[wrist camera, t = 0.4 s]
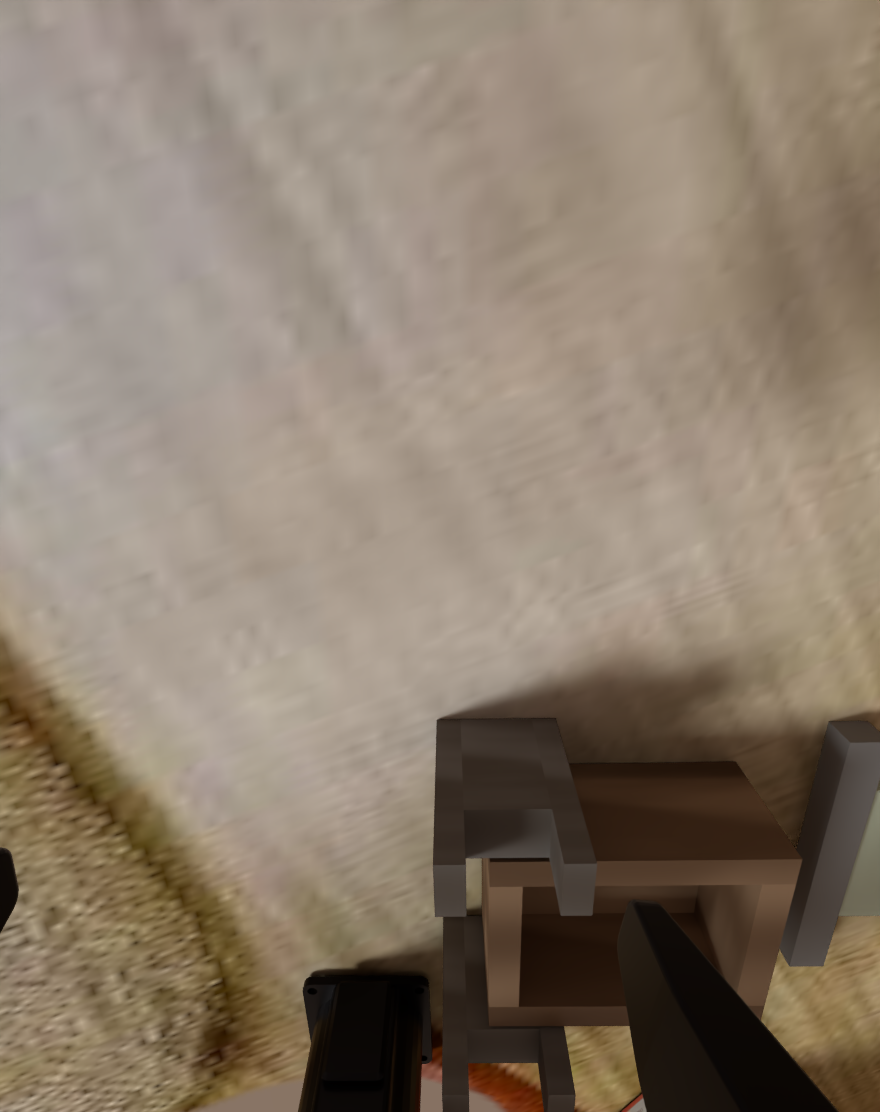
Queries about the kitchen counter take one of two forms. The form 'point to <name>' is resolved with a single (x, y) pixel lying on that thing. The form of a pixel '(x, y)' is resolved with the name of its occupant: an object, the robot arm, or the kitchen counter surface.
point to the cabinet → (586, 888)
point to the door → (837, 843)
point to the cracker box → (636, 1105)
